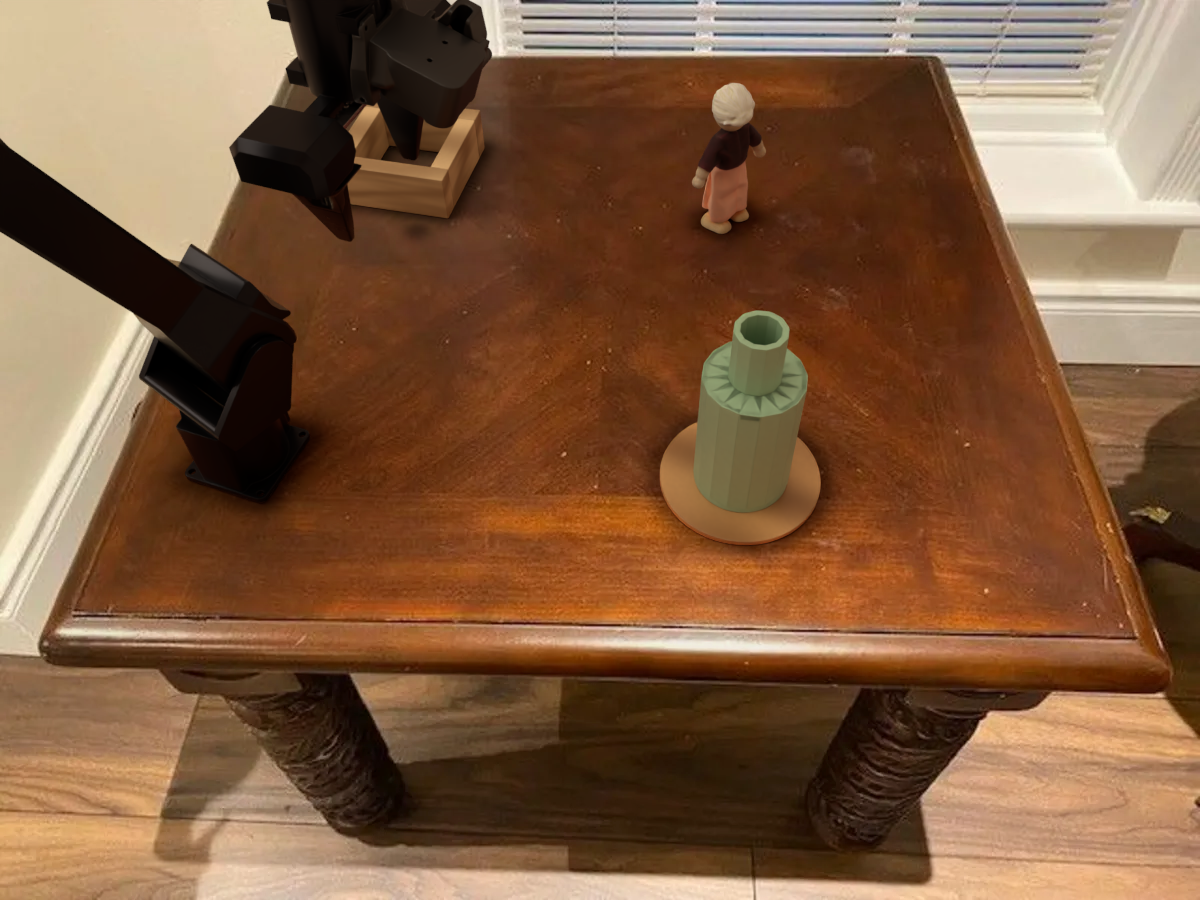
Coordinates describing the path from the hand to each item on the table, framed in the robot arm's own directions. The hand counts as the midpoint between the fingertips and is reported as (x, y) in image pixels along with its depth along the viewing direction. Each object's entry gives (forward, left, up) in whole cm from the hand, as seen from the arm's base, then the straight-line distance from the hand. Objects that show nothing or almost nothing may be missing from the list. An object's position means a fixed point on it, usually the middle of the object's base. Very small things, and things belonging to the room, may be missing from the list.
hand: (379, 197), depth 70 cm
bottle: (-5, -28, -13) cm, 31 cm away
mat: (-5, -28, -13) cm, 31 cm away
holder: (+18, +9, -13) cm, 24 cm away
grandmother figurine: (+21, -19, -13) cm, 31 cm away
